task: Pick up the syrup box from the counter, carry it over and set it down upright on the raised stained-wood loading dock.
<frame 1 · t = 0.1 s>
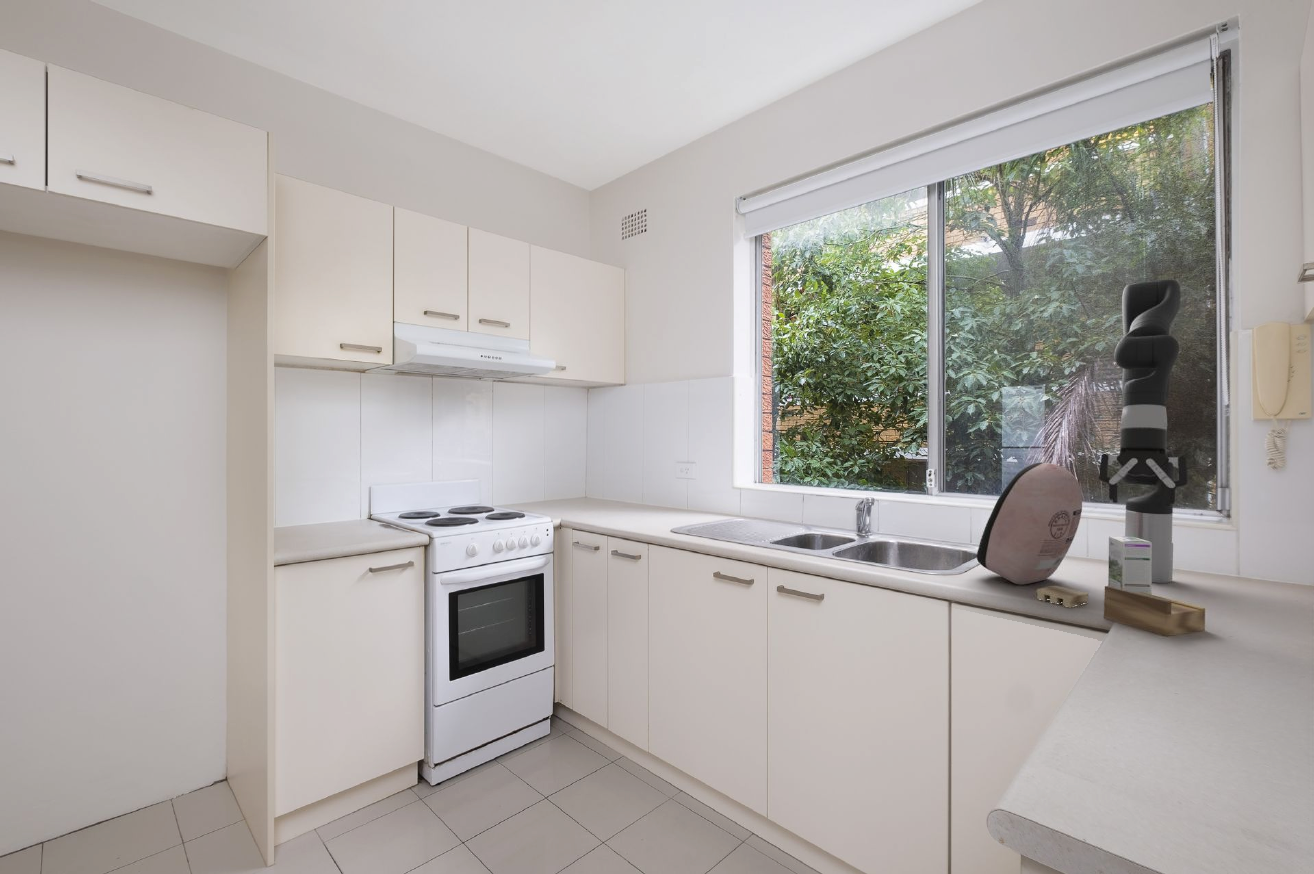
hand: (1140, 504, 123), 22 cm above the countertop, tool pointing down, fingers open, 8 cm apart
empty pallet: (1062, 601, 129), on the countertop
dock: (1152, 623, 115), on the countertop
syrup box: (1128, 605, 127), on the countertop
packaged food: (1029, 582, 146), on the countertop
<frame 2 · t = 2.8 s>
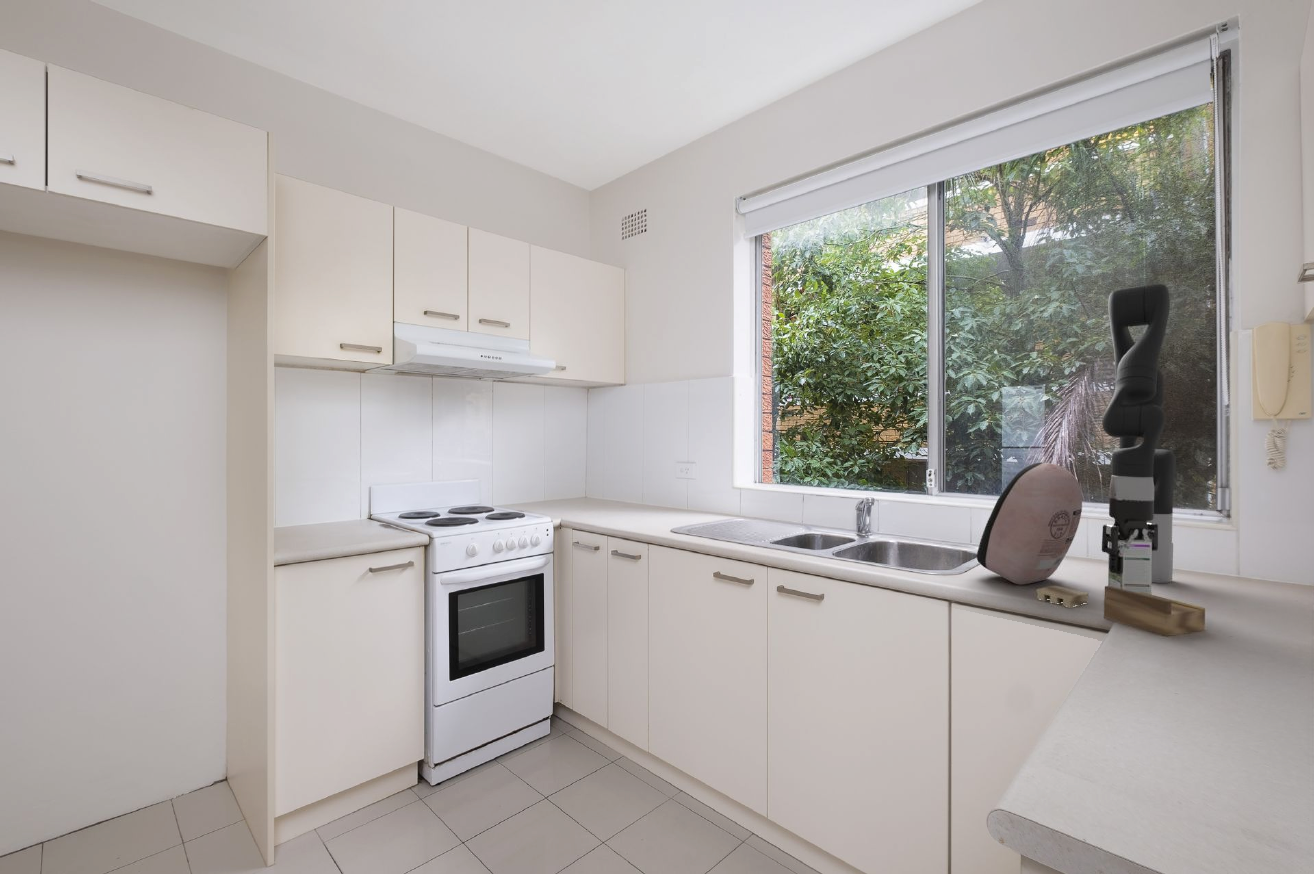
hand: (1129, 571, 127), 7 cm above the countertop, tool pointing down, fingers closed on syrup box, 8 cm apart
syrup box: (1128, 605, 127), on the countertop, touching gripper
everything else where it was.
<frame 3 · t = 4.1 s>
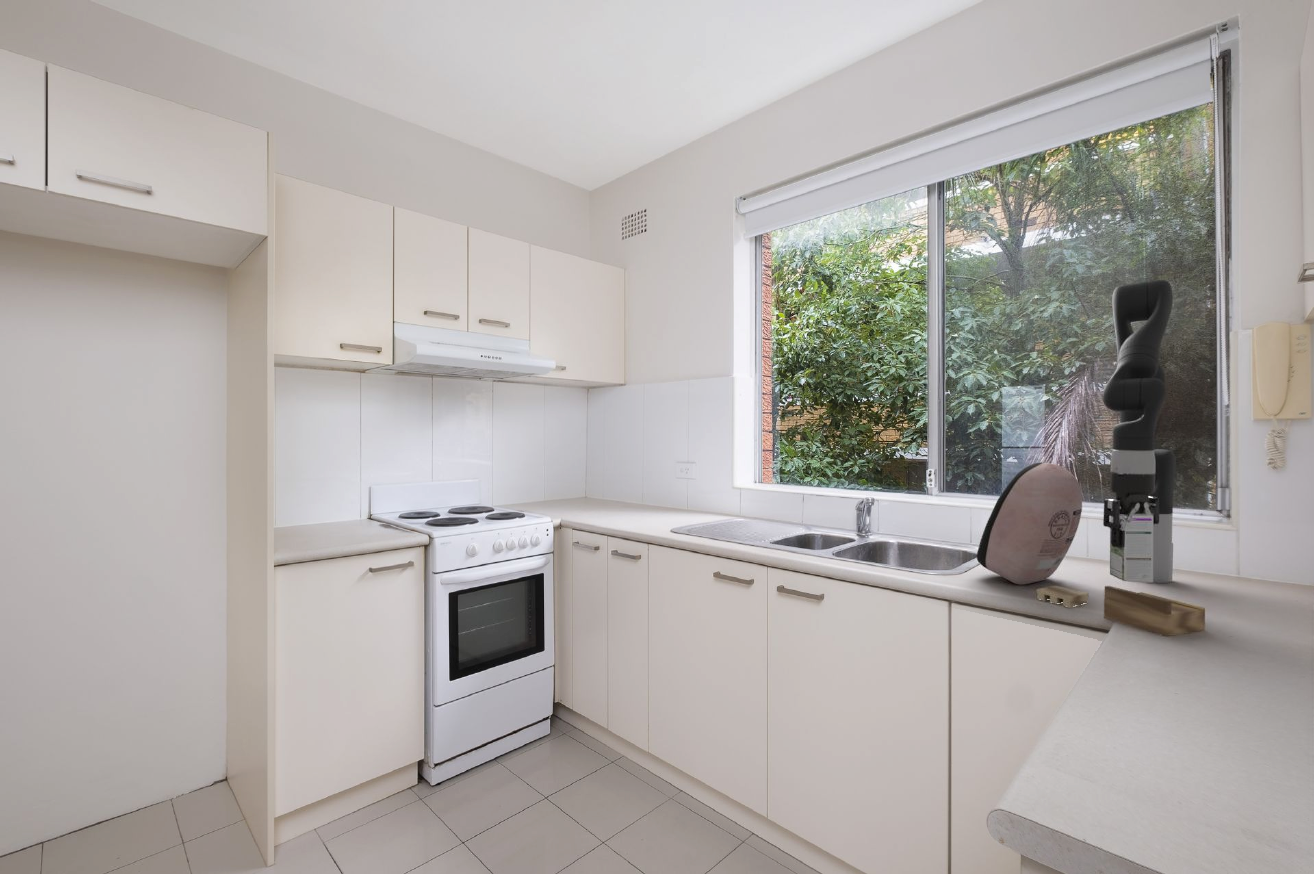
hand: (1131, 545, 127), 13 cm above the countertop, tool pointing down, fingers closed on syrup box, 8 cm apart
syrup box: (1130, 579, 127), point 5 cm above the countertop, touching gripper
everything else where it was.
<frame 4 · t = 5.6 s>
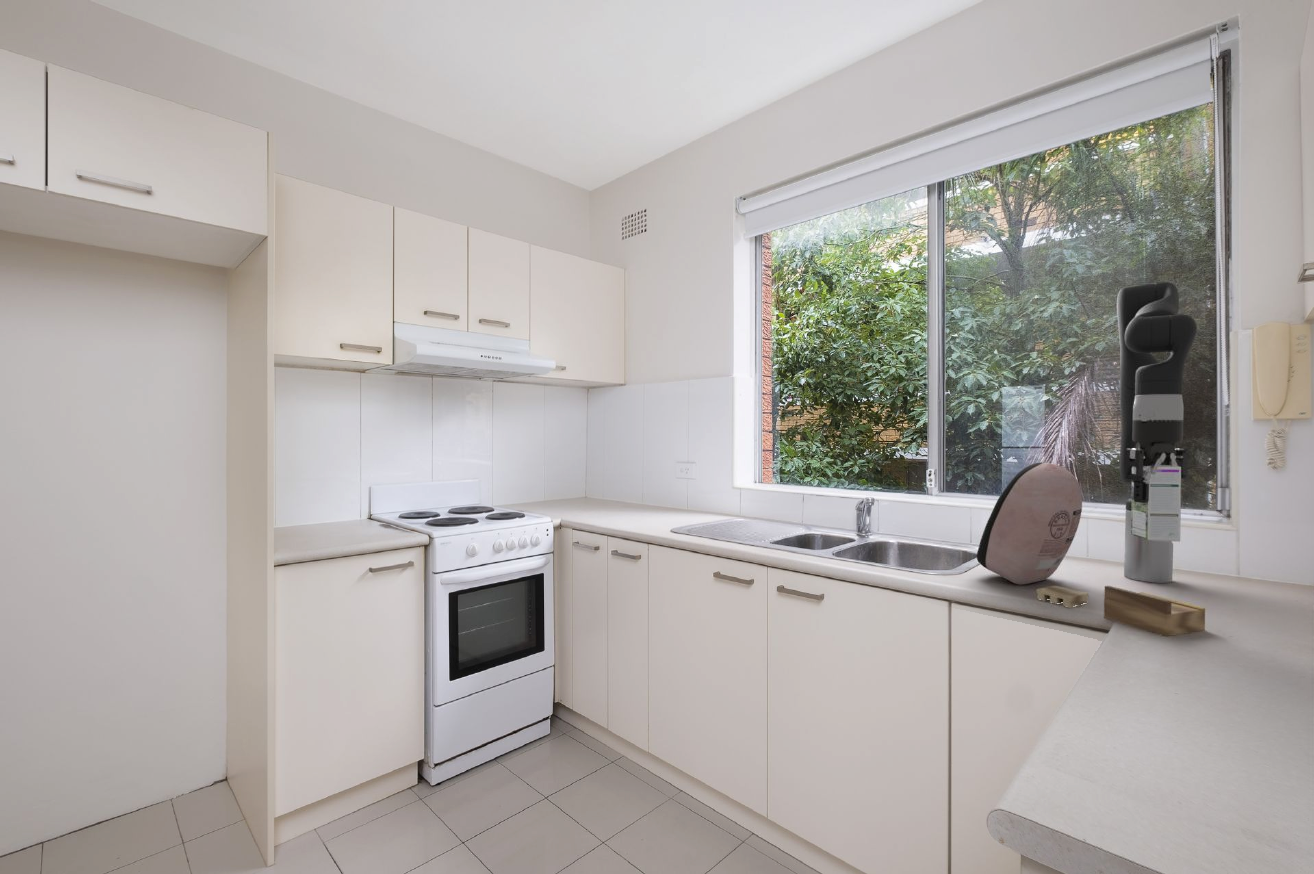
hand: (1155, 501, 115), 24 cm above the countertop, tool pointing down, fingers closed on syrup box, 8 cm apart
syrup box: (1154, 539, 115), point 17 cm above the countertop, touching gripper
everything else where it was.
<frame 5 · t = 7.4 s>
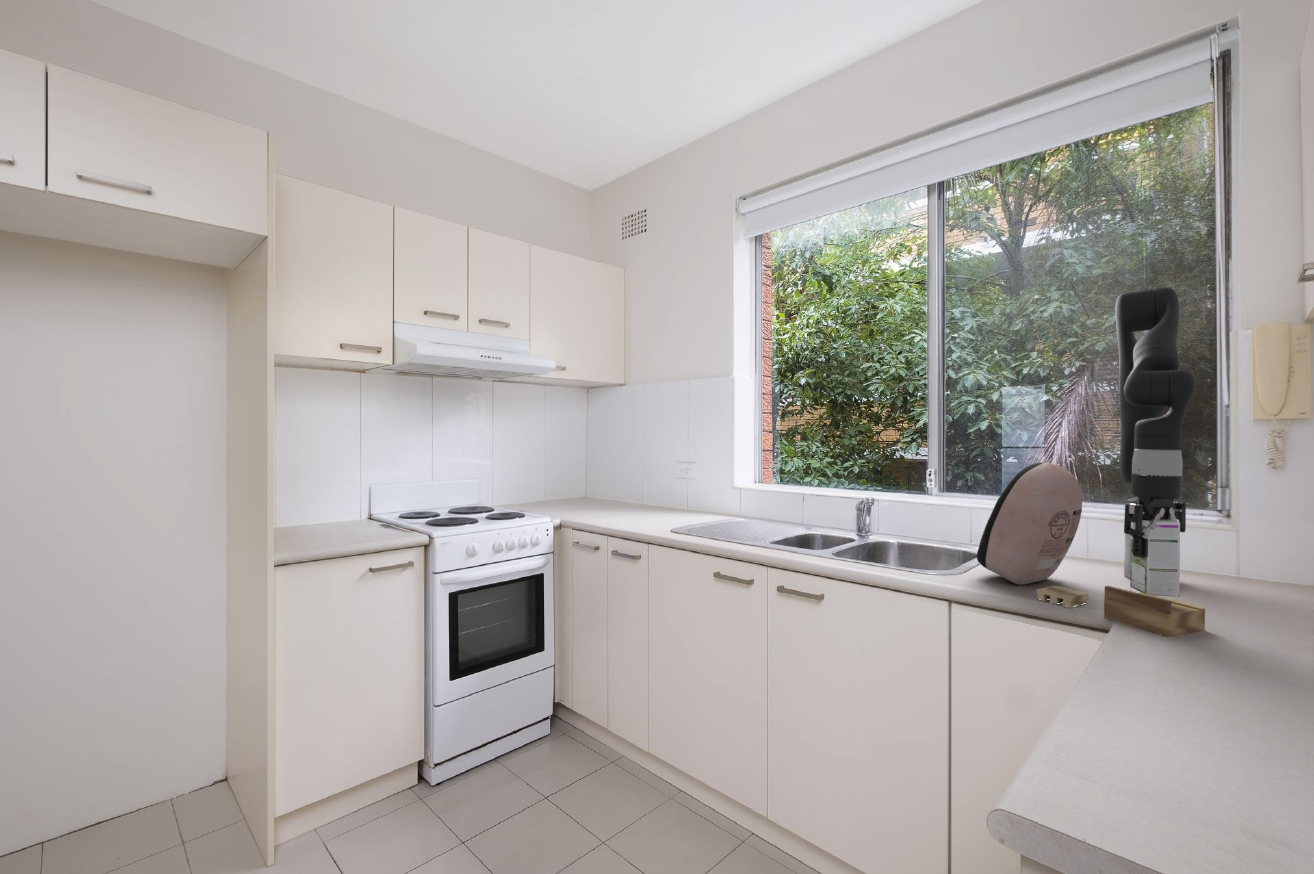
hand: (1154, 555, 115), 13 cm above the countertop, tool pointing down, fingers closed on syrup box, 8 cm apart
syrup box: (1153, 593, 115), point 6 cm above the countertop, touching gripper
everything else where it was.
when the fingers open (12 cm above the countertop, at t = 8.4 s): syrup box drops 1 cm, resting on dock.
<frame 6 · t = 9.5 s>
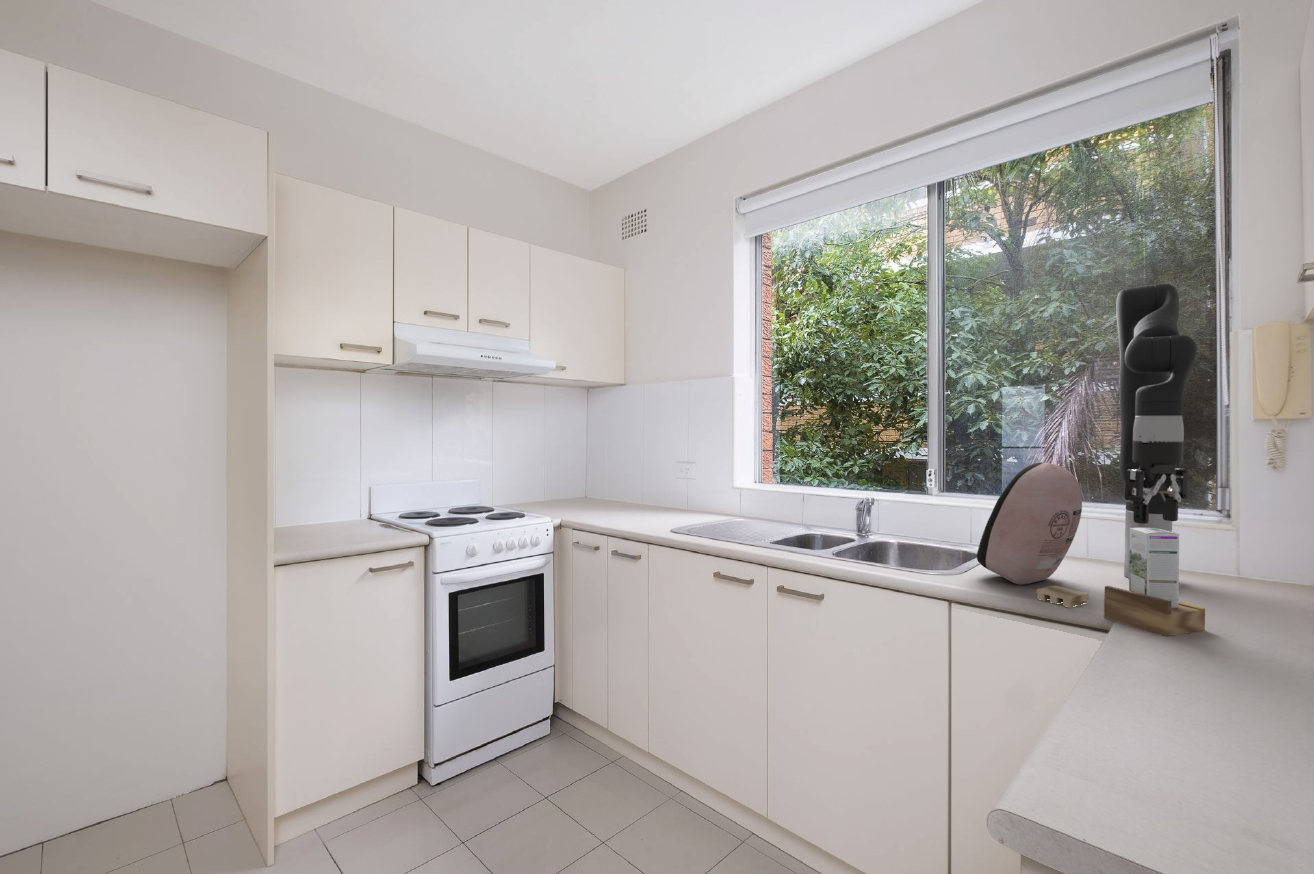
hand: (1155, 522, 114), 20 cm above the countertop, tool pointing down, fingers open, 8 cm apart
syrup box: (1152, 604, 115), point 4 cm above the countertop, touching dock
everything else where it was.
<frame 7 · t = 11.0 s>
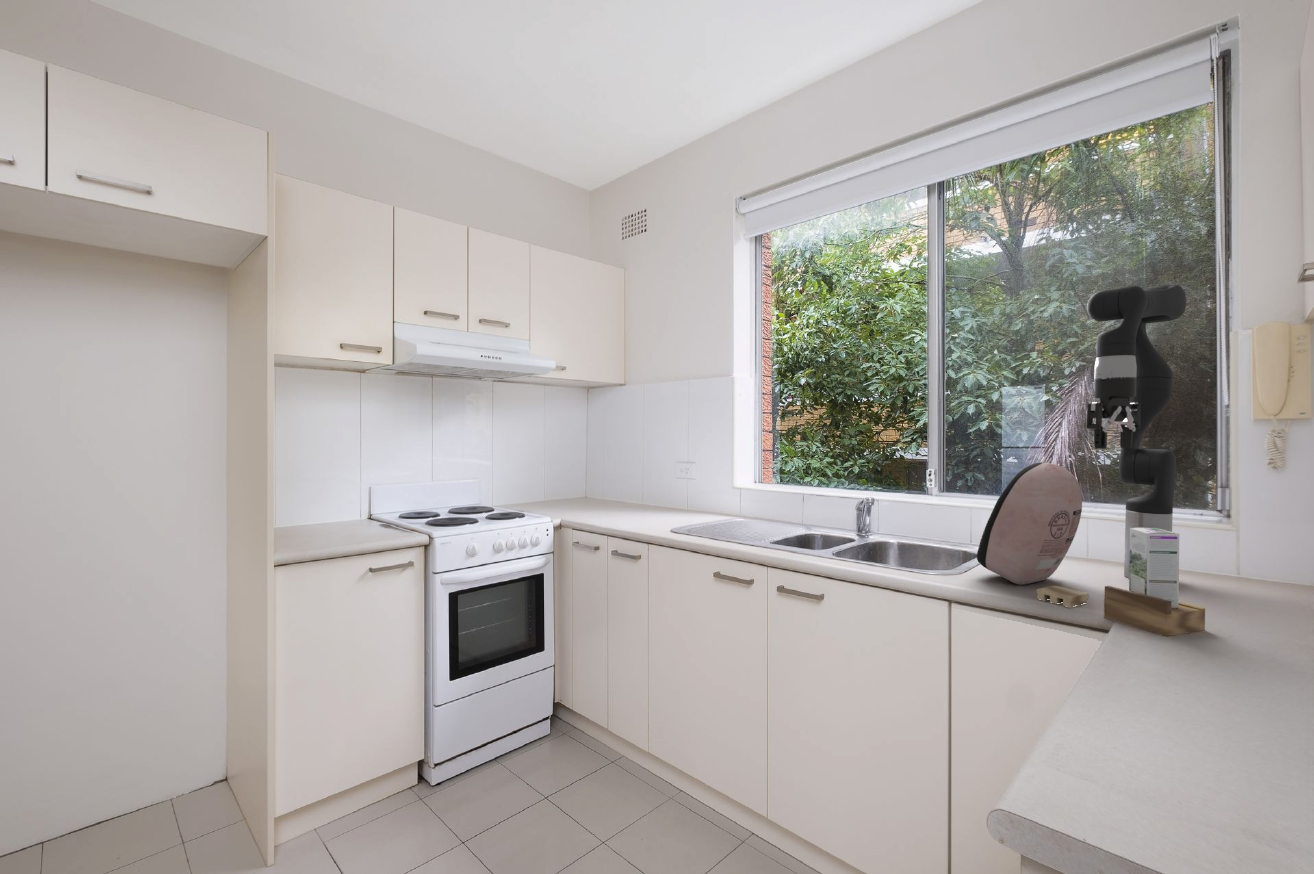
hand: (1113, 448, 133), 34 cm above the countertop, tool pointing down, fingers open, 8 cm apart
nothing on the countertop moved.
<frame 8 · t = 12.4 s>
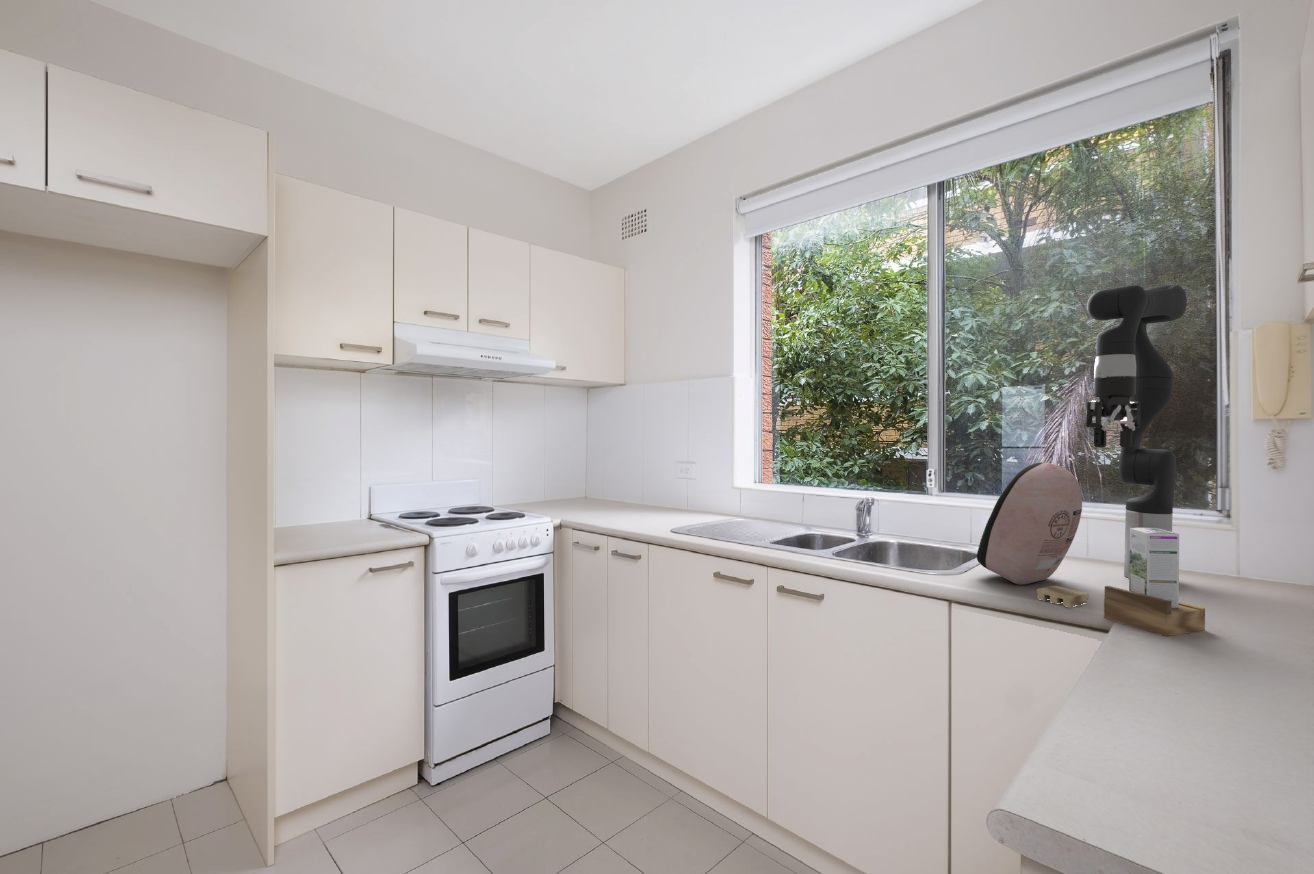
hand: (1113, 447, 133), 34 cm above the countertop, tool pointing down, fingers open, 8 cm apart
nothing on the countertop moved.
at the end: syrup box inside the target area on the dock (0.1 cm from its centre), point 3.8 cm above the dock's base; syrup box tilted 0°; the gripper is holding nothing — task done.
